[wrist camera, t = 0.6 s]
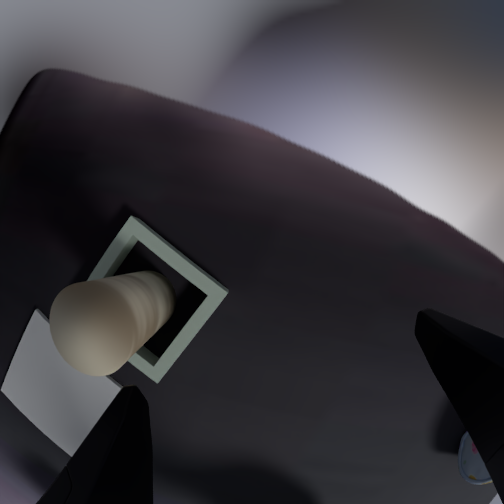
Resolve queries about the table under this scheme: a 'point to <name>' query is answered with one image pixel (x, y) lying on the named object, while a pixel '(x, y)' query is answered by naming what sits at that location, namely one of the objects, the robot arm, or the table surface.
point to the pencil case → (471, 462)
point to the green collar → (181, 264)
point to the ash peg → (109, 319)
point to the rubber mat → (55, 388)
